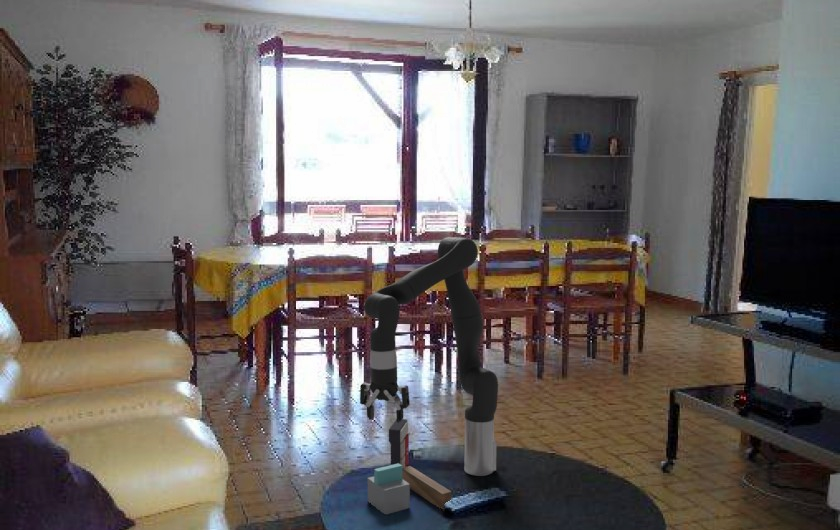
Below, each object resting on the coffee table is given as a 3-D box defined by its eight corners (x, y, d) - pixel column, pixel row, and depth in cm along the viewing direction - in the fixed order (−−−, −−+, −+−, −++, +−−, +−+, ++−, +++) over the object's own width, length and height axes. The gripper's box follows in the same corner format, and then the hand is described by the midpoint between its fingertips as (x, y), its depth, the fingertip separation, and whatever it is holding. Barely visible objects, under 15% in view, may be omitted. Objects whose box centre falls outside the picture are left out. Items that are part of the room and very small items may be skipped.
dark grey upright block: (402, 477, 223) (402, 430, 222) (388, 476, 224) (388, 429, 223) (409, 463, 234) (409, 419, 233) (396, 462, 235) (396, 418, 233)
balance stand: (391, 495, 211) (391, 458, 209) (409, 507, 202) (409, 470, 201) (367, 501, 206) (367, 464, 205) (384, 514, 198) (384, 476, 197)
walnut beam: (410, 481, 221) (410, 465, 220) (451, 508, 202) (451, 491, 202) (401, 483, 219) (401, 467, 219) (442, 511, 201) (442, 494, 200)
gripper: (411, 363, 204) (413, 418, 206) (365, 359, 209) (367, 413, 211) (402, 369, 197) (403, 427, 199) (354, 366, 202) (356, 422, 204)
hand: (385, 420), depth 205 cm, fingers open, 8 cm apart
